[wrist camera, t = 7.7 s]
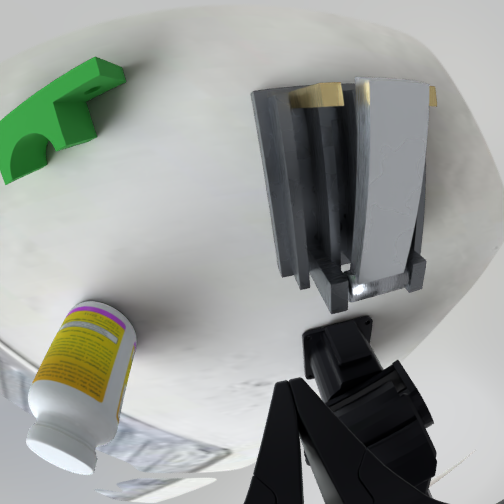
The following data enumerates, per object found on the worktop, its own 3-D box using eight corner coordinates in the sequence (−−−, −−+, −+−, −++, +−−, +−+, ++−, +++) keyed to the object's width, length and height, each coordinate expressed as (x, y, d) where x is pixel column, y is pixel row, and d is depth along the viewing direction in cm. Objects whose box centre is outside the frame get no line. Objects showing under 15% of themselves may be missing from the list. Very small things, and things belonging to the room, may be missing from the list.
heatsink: (398, 241, 21) (448, 286, 15) (278, 266, 21) (300, 329, 15) (394, 85, 16) (460, 84, 10) (250, 93, 16) (268, 80, 10)
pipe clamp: (17, 184, 16) (-19, 204, 12) (3, 141, 14) (-36, 154, 10) (139, 118, 16) (113, 121, 12) (123, 67, 14) (94, 55, 10)
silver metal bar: (391, 274, 17) (404, 293, 16) (341, 287, 17) (351, 308, 16) (413, 79, 10) (438, 86, 8) (344, 76, 10) (366, 81, 8)
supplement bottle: (57, 301, 21) (-8, 421, 9) (121, 293, 21) (68, 440, 9) (89, 356, 24) (52, 471, 12) (149, 353, 24) (127, 486, 12)
